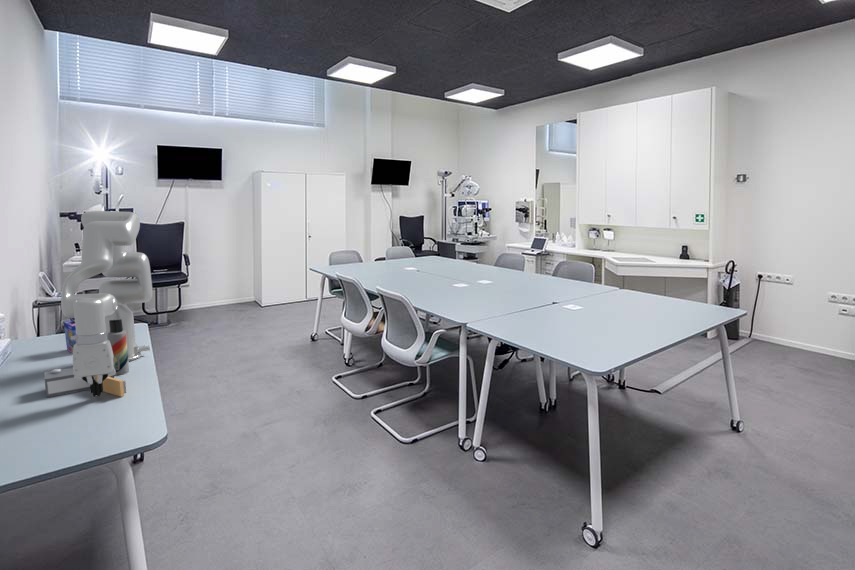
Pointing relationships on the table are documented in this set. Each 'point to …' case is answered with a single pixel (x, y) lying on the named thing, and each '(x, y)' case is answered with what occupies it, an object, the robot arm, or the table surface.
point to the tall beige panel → (113, 386)
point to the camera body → (63, 382)
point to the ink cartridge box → (70, 334)
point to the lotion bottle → (118, 346)
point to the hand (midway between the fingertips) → (97, 394)
